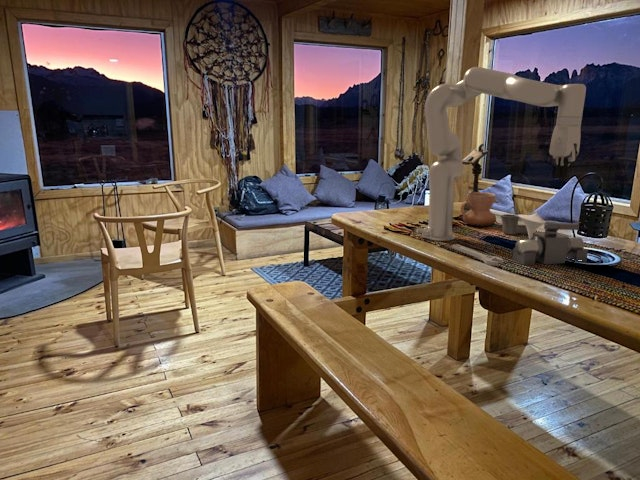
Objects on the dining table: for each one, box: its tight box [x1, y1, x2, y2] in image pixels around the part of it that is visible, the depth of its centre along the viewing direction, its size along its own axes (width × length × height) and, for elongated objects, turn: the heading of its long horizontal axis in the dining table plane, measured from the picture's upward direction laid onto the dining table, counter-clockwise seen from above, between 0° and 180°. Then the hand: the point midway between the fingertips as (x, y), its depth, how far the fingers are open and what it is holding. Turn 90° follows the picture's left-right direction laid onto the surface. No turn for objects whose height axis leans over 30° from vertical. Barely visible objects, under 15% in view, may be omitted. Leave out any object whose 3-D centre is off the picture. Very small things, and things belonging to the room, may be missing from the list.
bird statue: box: [462, 143, 489, 213], centre depth 241 cm, size 17×13×35 cm
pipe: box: [500, 213, 528, 236], centre depth 201 cm, size 6×13×8 cm, turn 75°
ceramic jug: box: [460, 191, 500, 227], centre depth 217 cm, size 18×14×14 cm
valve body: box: [512, 229, 589, 266], centre depth 164 cm, size 23×8×11 cm, turn 99°
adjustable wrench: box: [452, 243, 504, 267], centre depth 172 cm, size 25×6×2 cm, turn 16°
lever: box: [543, 221, 580, 231], centre depth 161 cm, size 17×4×2 cm, turn 82°
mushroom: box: [517, 211, 546, 240], centre depth 188 cm, size 10×11×12 cm
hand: (560, 176), depth 167 cm, fingers closed
